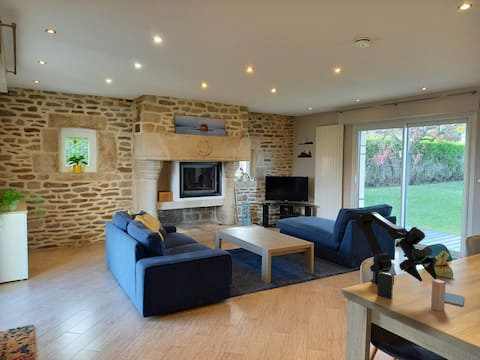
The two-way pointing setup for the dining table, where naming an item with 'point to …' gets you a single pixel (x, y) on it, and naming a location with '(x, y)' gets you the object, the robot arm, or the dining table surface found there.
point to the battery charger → (385, 284)
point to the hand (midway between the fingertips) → (429, 280)
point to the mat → (454, 299)
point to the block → (438, 295)
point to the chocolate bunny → (443, 265)
